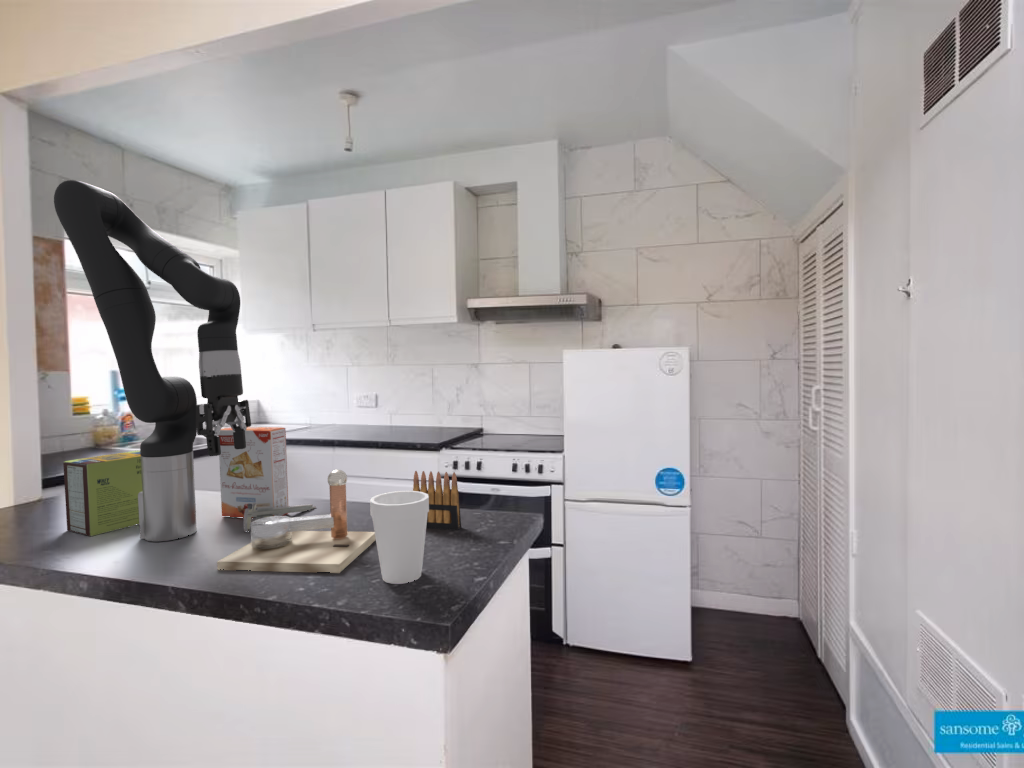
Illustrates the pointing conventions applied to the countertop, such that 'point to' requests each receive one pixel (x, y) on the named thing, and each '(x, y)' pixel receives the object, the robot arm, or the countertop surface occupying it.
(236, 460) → the cracker box
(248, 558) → the stand plate
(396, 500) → the foam cup
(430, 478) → the ammunition clip
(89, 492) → the protein box
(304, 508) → the caliper
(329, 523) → the lever
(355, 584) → the countertop surface
